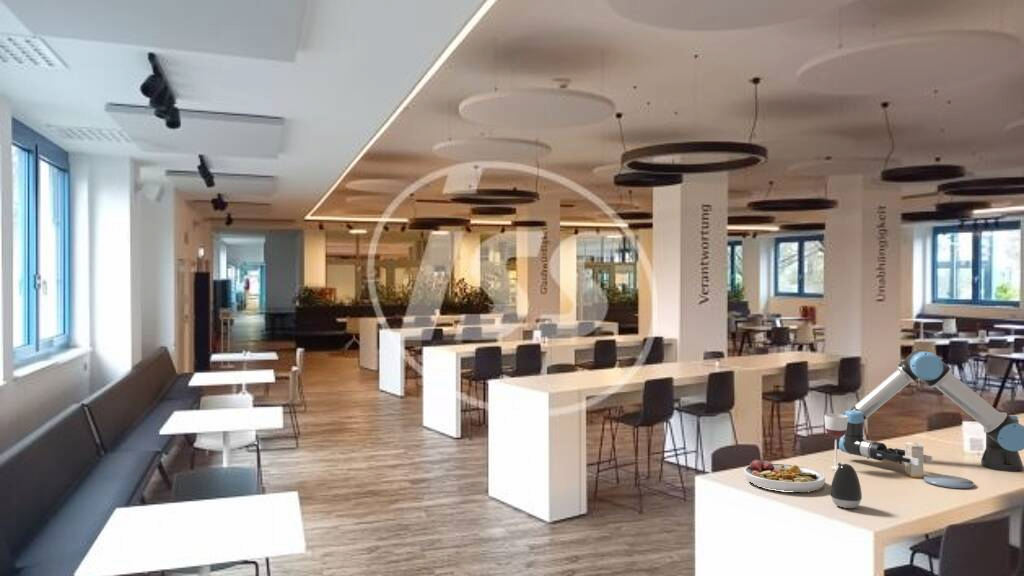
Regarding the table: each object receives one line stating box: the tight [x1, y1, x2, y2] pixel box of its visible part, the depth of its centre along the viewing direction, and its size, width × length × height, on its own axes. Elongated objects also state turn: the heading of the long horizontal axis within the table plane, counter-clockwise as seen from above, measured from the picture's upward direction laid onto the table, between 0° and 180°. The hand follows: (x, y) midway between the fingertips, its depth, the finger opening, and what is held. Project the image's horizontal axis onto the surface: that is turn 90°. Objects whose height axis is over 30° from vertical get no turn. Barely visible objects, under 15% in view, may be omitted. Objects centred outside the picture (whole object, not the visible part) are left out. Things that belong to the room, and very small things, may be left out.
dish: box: [923, 474, 975, 489], centre depth 289 cm, size 17×17×1 cm
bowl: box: [743, 459, 826, 493], centre depth 287 cm, size 30×30×8 cm
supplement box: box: [904, 441, 924, 479], centre depth 301 cm, size 8×5×13 cm, turn 169°
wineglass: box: [823, 413, 848, 469], centre depth 312 cm, size 9×10×23 cm
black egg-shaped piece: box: [829, 462, 863, 509], centre depth 257 cm, size 10×10×15 cm
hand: (925, 461), depth 297 cm, fingers closed on supplement box, 9 cm apart
